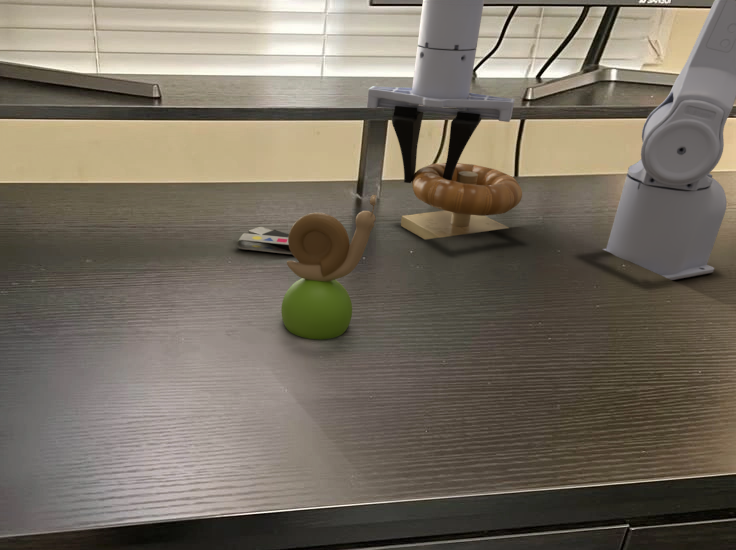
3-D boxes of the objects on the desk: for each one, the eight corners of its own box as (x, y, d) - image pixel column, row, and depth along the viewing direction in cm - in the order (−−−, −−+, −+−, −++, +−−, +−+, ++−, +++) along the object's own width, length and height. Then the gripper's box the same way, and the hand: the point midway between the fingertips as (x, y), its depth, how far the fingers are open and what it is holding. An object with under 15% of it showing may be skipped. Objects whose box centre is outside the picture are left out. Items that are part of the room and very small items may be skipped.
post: (465, 217, 86) (475, 159, 83) (518, 243, 79) (531, 181, 76) (400, 225, 83) (408, 166, 80) (449, 253, 76) (459, 189, 73)
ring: (472, 183, 86) (477, 157, 84) (539, 215, 77) (547, 186, 76) (390, 189, 82) (394, 162, 80) (451, 223, 73) (458, 193, 71)
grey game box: (326, 254, 74) (326, 244, 74) (293, 268, 71) (294, 258, 70) (261, 233, 79) (261, 224, 79) (227, 245, 76) (227, 236, 75)
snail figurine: (358, 363, 56) (375, 208, 50) (274, 353, 57) (281, 199, 51) (364, 331, 60) (380, 185, 54) (286, 322, 61) (293, 178, 55)
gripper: (365, 45, 72) (352, 183, 79) (520, 57, 68) (492, 202, 74) (381, 38, 78) (368, 167, 85) (525, 49, 73) (499, 184, 80)
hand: (427, 183), depth 80 cm, fingers closed on ring, 3 cm apart
